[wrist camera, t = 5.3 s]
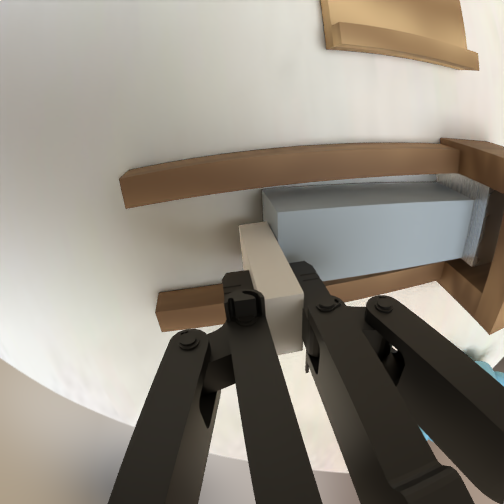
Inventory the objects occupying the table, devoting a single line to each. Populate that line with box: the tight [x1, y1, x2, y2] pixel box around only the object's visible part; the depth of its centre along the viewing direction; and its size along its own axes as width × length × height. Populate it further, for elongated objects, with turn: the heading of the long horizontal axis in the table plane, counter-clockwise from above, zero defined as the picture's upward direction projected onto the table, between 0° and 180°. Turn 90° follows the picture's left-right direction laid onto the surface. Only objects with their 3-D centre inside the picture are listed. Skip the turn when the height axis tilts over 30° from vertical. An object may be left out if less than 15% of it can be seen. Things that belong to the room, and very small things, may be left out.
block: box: [436, 173, 504, 267], centre depth 17 cm, size 11×5×5 cm, turn 93°
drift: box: [262, 182, 474, 281], centre depth 16 cm, size 12×4×4 cm, turn 93°
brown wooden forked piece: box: [119, 138, 504, 335], centre depth 15 cm, size 10×24×8 cm, turn 95°
